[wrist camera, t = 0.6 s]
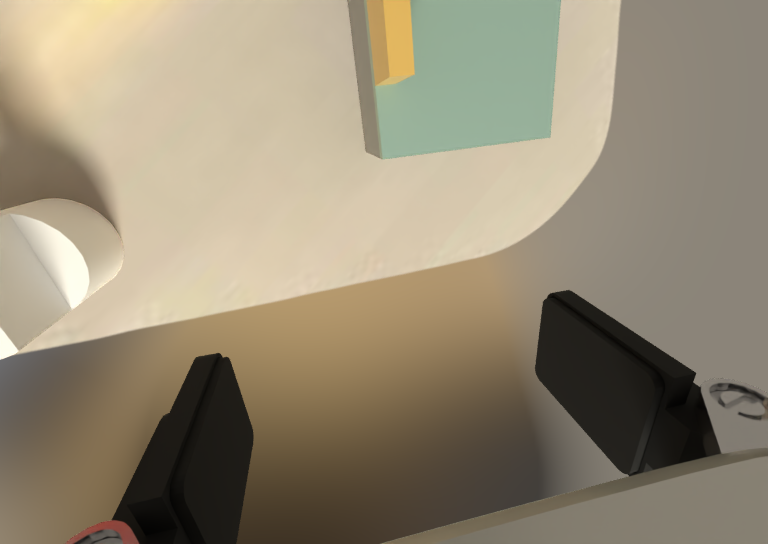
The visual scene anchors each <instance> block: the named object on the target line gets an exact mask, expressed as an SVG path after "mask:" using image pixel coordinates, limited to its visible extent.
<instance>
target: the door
mask: <svg viewBox="0 0 768 544" xmlns="http://www.w3.org/2000/svg"><path fill="white" fill-rule="evenodd" d="M560 6H561V0H364V7H365V17H366V26H367V36H368V45H369V55H370V64H371V74H372V83H373V93H374V103H375V112H376V122H377V131H378V141H379V150H380V158H381V159H390V158H397V157H405V156H413V155H420V154H428V153H436V152H443V151H451V150H458V149H466V148H474V147H481V146H489V145H496V144H504V143H512V142H519V141H527V140H534V139H542V138H550V135H551V122H552V109H553V96H554V83H555V70H556V57H557V44H558V31H559V18H560Z"/></svg>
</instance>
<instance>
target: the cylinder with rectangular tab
mask: <svg viewBox="0 0 768 544" xmlns="http://www.w3.org/2000/svg"><path fill="white" fill-rule="evenodd" d="M123 260H124V248H123V244H122V241H121V238H120V236H119V234H118V232H117V231H116V229H115V228H114V227H113V225H112V224H111V223H110V222H109V221H108V220H107V219H106V218H105V217H104V216H103V215H102V214H100V213H99V212H97V211H95V210H94V209H92V208H90V207H89V206H87V205H84V204H82V203H79V202H76V201H73V200H68V199H60V198H50V199H40V200H37V201H33V202H29V203H26V204H22V205H18V206H15V207H11V208H7V209H4V210H0V359H3V358H6V357H8V356H11V355H13V354H15V353H17V352H18V351H19V350H21V349H22V348H23V347H24V346H26V345H27V344H28V343H30V342H31V341H32V340H34V339H35V338H36V337H37V336H39V335H40V334H41V333H43V332H44V331H45V330H46V329H48V328H49V327H50V326H52V325H53V324H54V323H56V322H57V321H58V320H59V319H61V318H62V317H63V316H65V315H66V314H67V313H68V312H70V311H71V310H72V309H74V308H75V307H76V306H78V305H79V304H80V303H82V302H83V301H84V300H86V299H87V298H88V297H89V296H91V295H92V294H93V293H95V292H96V291H97V290H98V289H100V288H101V287H102V286H104V285H105V284H106V283H107V282H109V281H110V280H111V279H113V278H114V277H115V276H116V275H117V273H118V272H119V270H120V269H121V267H122V263H123Z"/></svg>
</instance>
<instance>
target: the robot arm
mask: <svg viewBox="0 0 768 544" xmlns="http://www.w3.org/2000/svg"><path fill="white" fill-rule="evenodd" d="M535 371H536V375H537V377H538V379H539V380H540V381H541V382H542V383H543V385H544V386H545V387H546V388H547V389H548V390H549V391H550V393H551V394H552V395H553V396H554V397H555V398H556V399H557V401H558V402H559V403H560V404H561V405H562V406H563V407H564V408H565V410H567V412H568V413H569V414H570V415H571V416H572V418H573V419H574V420H575V421H576V422H577V423H578V424H579V425H580V426H581V428H582V429H583V430H584V431H585V432H586V433H587V434H588V436H589V437H590V438H591V439H592V440H593V441H594V442H595V444H596V445H597V446H598V447H599V448H600V449H601V450H602V451H603V452H604V454H605V455H606V456H607V457H608V458H609V459H610V461H611V462H612V463H613V464H614V465H615V466H616V467H617V468H618V469H619V470H620V471H621V472H622V473H624V474H628V475H629V477H626V478H622V479H618V480H614V481H610V482H607V483H603V484H599V485H595V486H591V487H588V488H584V489H580V490H576V491H573V492H569V493H565V494H561V495H557V496H554V497H550V498H546V499H543V500H539V501H535V502H532V503H528V504H524V505H521V506H517V507H513V508H509V509H506V510H502V511H498V512H495V513H491V514H487V515H484V516H480V517H476V518H473V519H469V520H465V521H462V522H458V523H454V524H451V525H447V526H443V527H440V528H436V529H432V530H429V531H425V532H422V533H418V534H415V535H411V536H407V537H404V538H400V539H396V540H393V541H389V542H386V543H382V544H768V393H767V392H765V391H763V390H761V389H759V388H756V387H754V386H752V385H749V384H746V383H743V382H739V381H735V380H730V379H723V378H720V379H719V378H718V379H709V380H707V381H704V382H703V384H702V385H701V387H699V386H697V385H696V384H695V383H693V381H694V378H695V375H696V373H695V372H694V371H692V370H691V369H689V368H688V367H686V366H685V365H683V364H682V363H680V362H679V361H677V360H676V359H674V358H673V357H671V356H669V355H668V354H666V353H665V352H663V351H662V350H660V349H659V348H657V347H656V346H654V345H653V344H651V343H650V342H648V341H646V340H645V339H643V338H642V337H641V336H639V335H638V334H636V333H634V332H633V331H631V330H630V329H628V328H627V327H625V326H624V325H622V324H621V323H619V322H618V321H616V320H615V319H613V318H612V317H610V316H609V315H607V314H606V313H604V312H603V311H601V310H599V309H598V308H596V307H595V306H593V305H592V304H590V303H589V302H587V301H586V300H584V299H583V298H581V297H579V296H578V295H577V294H575V293H573V292H572V291H570V290H566V291H561V292H555V293H551V294H549V295H548V297H547V299H545V300H544V301H543V307H542V315H541V323H540V332H539V340H538V348H537V357H536V365H535ZM252 447H253V429H252V425H251V422H250V419H249V416H248V413H247V410H246V407H245V404H244V401H243V398H242V395H241V392H240V389H239V386H238V383H237V380H236V377H235V374H234V370H233V367H232V364H231V361H230V359H229V358H228V357H224V358H223V357H222V355H221V354H220V353H216V354H211V355H205V356H199V357H196V358H195V360H194V362H193V364H192V366H191V368H190V370H189V372H188V374H187V376H186V379H185V381H184V383H183V385H182V387H181V389H180V392H179V394H178V396H177V398H176V400H175V402H174V404H173V406H172V409H171V411H170V413H168V414H166V415H164V416H163V418H162V419H161V420H160V422H159V424H158V426H157V428H156V430H155V432H154V434H153V436H152V438H151V440H150V442H149V444H148V447H147V449H146V451H145V453H144V455H143V457H142V459H141V461H140V463H139V465H138V467H137V469H136V471H135V473H134V475H133V478H132V480H131V482H130V484H129V486H128V488H127V490H126V492H125V494H124V496H123V498H122V500H121V502H120V504H119V506H118V508H117V510H116V513H115V514H114V516H113V519H112V521H106V522H101V523H99V524H96V525H94V526H92V527H89V528H87V529H85V530H83V531H82V532H80V533H79V534H77V535H76V536H74V537H72V538H71V539H70V540H69V541H67V542H66V543H65V544H236V542H237V536H238V530H239V524H240V518H241V512H242V506H243V500H244V494H245V488H246V482H247V476H248V470H249V464H250V458H251V452H252Z"/></svg>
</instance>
